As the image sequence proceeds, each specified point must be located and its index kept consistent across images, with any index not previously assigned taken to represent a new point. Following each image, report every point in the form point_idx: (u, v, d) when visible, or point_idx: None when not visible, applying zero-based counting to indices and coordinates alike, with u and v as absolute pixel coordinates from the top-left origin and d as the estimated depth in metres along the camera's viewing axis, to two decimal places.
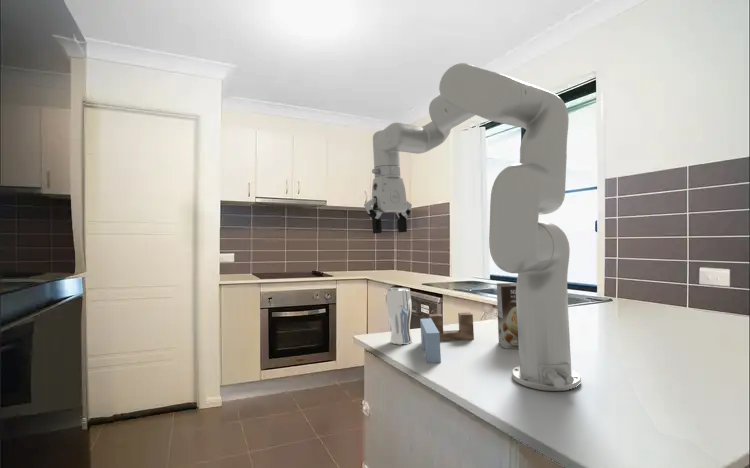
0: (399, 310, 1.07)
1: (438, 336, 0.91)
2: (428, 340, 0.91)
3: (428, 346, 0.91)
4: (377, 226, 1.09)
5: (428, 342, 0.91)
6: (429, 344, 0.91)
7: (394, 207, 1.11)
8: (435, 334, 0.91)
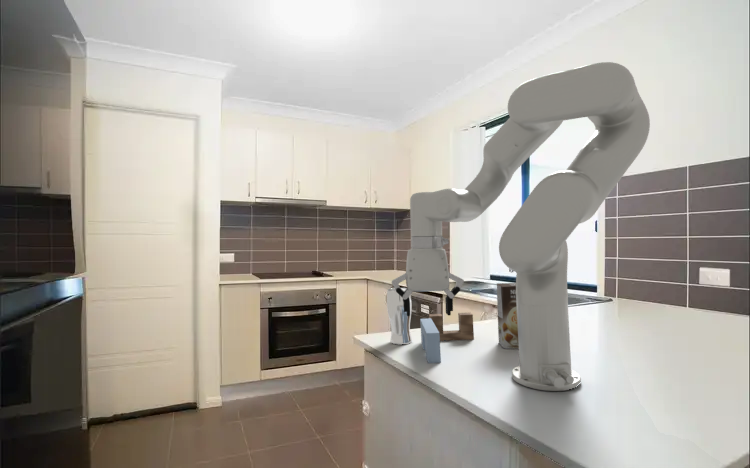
0: (399, 310, 1.07)
1: (438, 336, 0.91)
2: (428, 340, 0.91)
3: (428, 346, 0.91)
4: None
5: (428, 342, 0.91)
6: (429, 344, 0.91)
7: None
8: (435, 334, 0.91)
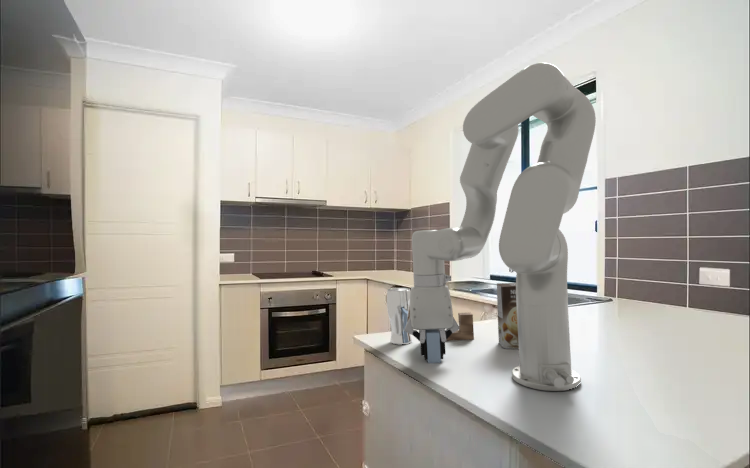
0: (399, 310, 1.07)
1: (438, 336, 0.91)
2: (428, 340, 0.91)
3: (428, 346, 0.91)
4: None
5: (428, 342, 0.91)
6: (429, 344, 0.91)
7: None
8: (435, 334, 0.91)
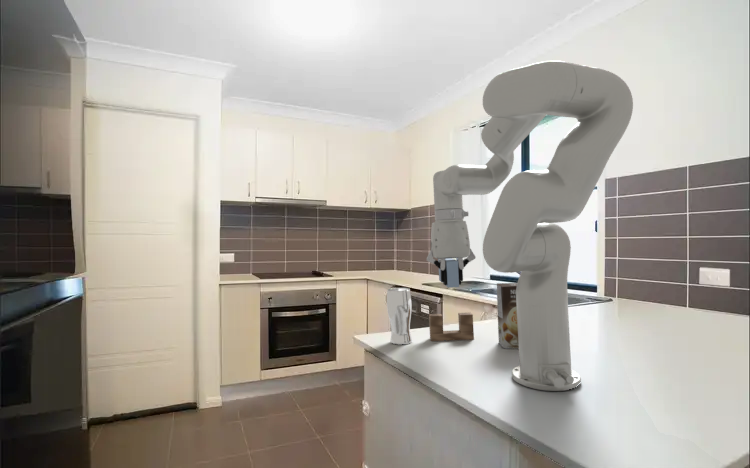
0: (399, 310, 1.07)
1: (457, 264, 1.03)
2: (448, 267, 1.03)
3: (448, 272, 1.03)
4: None
5: (448, 269, 1.03)
6: (449, 271, 1.03)
7: None
8: (454, 262, 1.03)
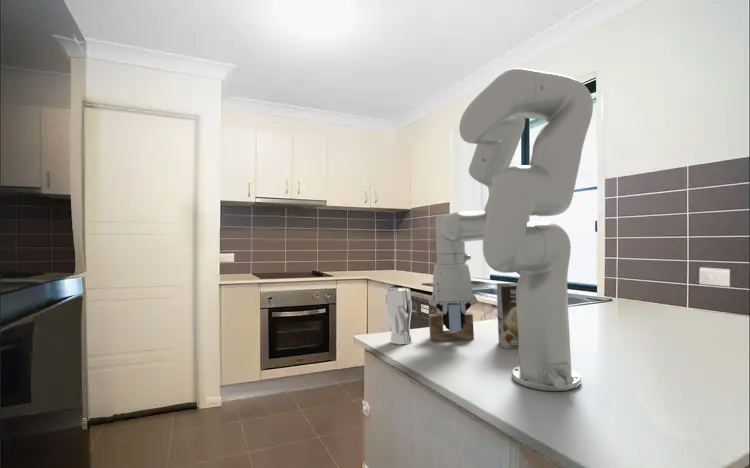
0: (399, 310, 1.07)
1: (459, 308, 1.03)
2: (450, 311, 1.04)
3: (450, 316, 1.03)
4: None
5: (450, 313, 1.04)
6: (451, 315, 1.03)
7: None
8: (456, 306, 1.03)
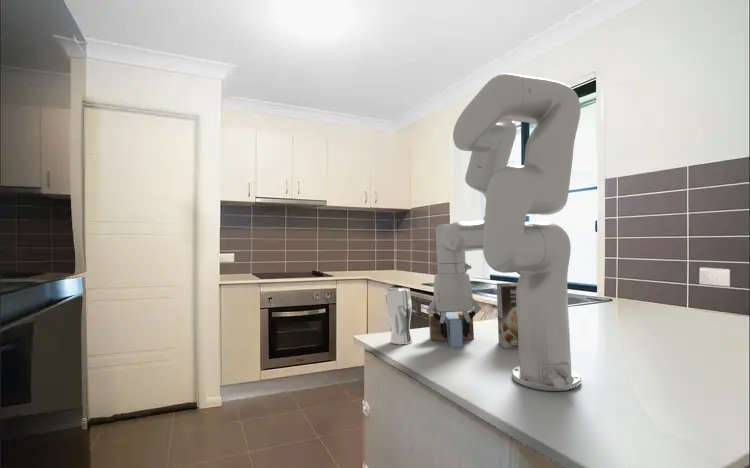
0: (399, 310, 1.07)
1: (460, 323, 1.03)
2: (451, 327, 1.03)
3: (451, 332, 1.03)
4: None
5: (451, 329, 1.03)
6: (452, 330, 1.03)
7: None
8: (457, 321, 1.03)
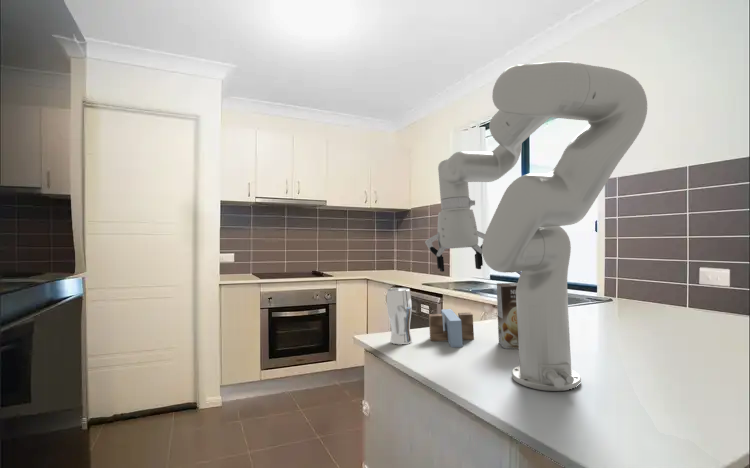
0: (399, 310, 1.07)
1: (460, 323, 1.03)
2: (451, 327, 1.03)
3: (451, 332, 1.03)
4: None
5: (451, 329, 1.03)
6: (452, 330, 1.03)
7: None
8: (457, 321, 1.03)
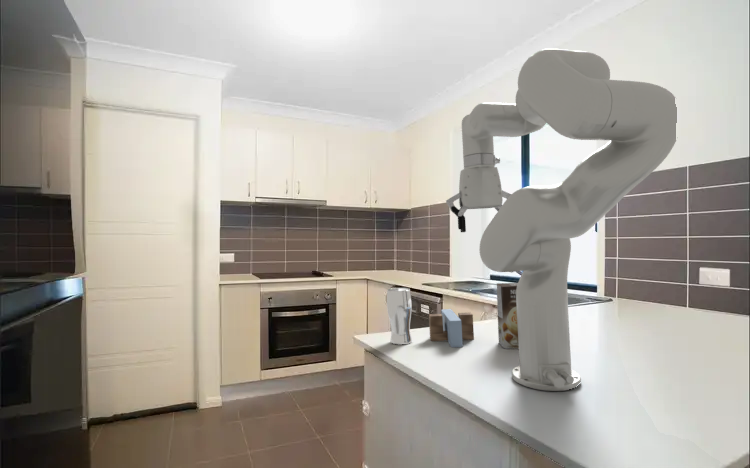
0: (399, 310, 1.07)
1: (460, 323, 1.03)
2: (451, 327, 1.03)
3: (451, 332, 1.03)
4: None
5: (451, 329, 1.03)
6: (452, 330, 1.03)
7: None
8: (457, 321, 1.03)
